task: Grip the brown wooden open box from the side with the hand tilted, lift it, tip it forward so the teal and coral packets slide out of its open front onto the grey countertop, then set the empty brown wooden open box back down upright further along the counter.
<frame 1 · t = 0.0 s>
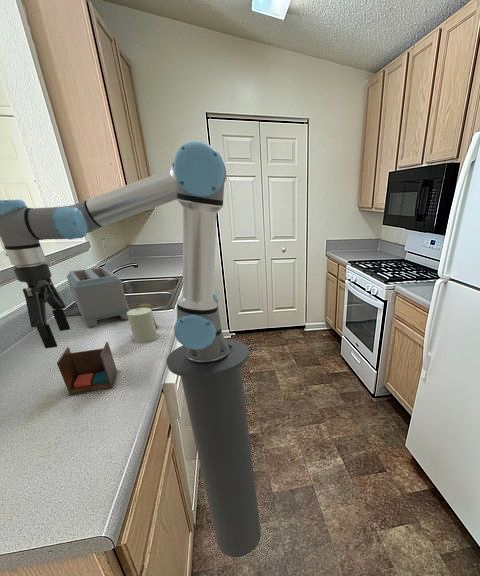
hand: (58, 338, 97), 16 cm above the counter, tool pointing down, fingers open, 13 cm apart
packet coral: (85, 381, 104), point 1 cm above the counter, touching brown wooden open box
can: (146, 338, 136), on the counter
packet teal: (103, 378, 106), point 1 cm above the counter, touching brown wooden open box
brown wooden open box: (94, 383, 105), on the counter, touching packet coral, packet teal
toaster: (104, 314, 164), on the counter
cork: (150, 328, 146), on the counter
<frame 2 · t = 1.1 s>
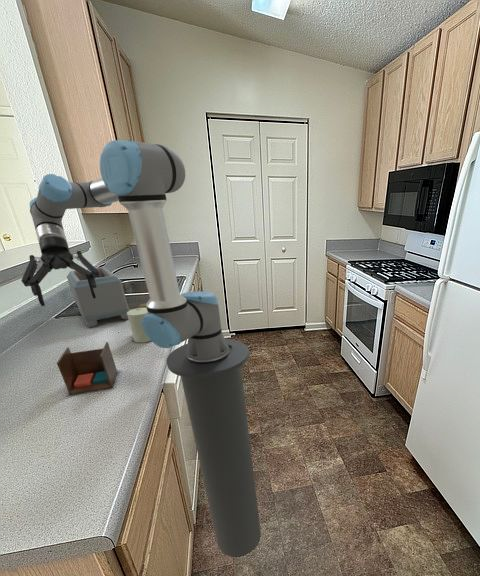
hand: (68, 299, 102), 25 cm above the counter, tool tilted 45°, fingers open, 13 cm apart
nothing on the counter moved.
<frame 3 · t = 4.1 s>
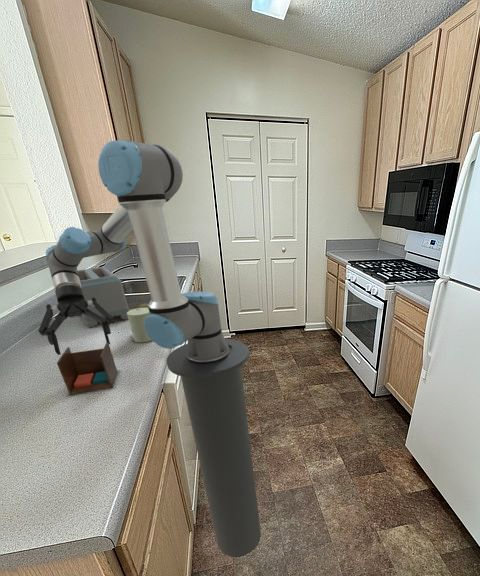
hand: (84, 348, 104), 10 cm above the counter, tool tilted 45°, fingers open, 13 cm apart
brown wooden open box: (94, 383, 105), on the counter, touching gripper, packet coral, packet teal
everything else where it was.
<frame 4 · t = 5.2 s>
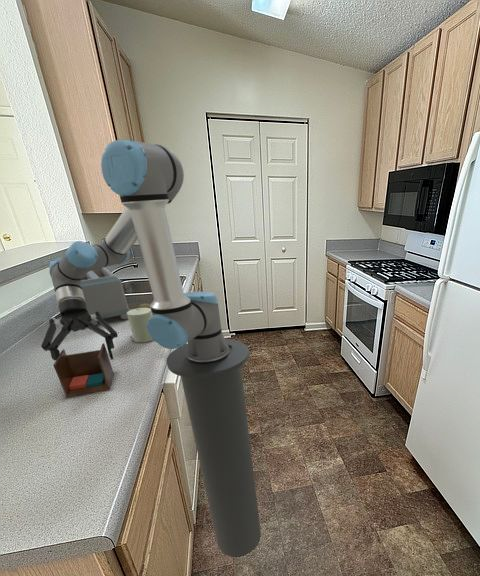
hand: (87, 363, 102), 7 cm above the counter, tool tilted 45°, fingers open, 13 cm apart
packet coral: (80, 383, 103), point 1 cm above the counter, touching brown wooden open box
packet teal: (97, 381, 104), point 1 cm above the counter, touching brown wooden open box
brown wooden open box: (91, 385, 104), on the counter, touching packet coral, packet teal
everything else where it was.
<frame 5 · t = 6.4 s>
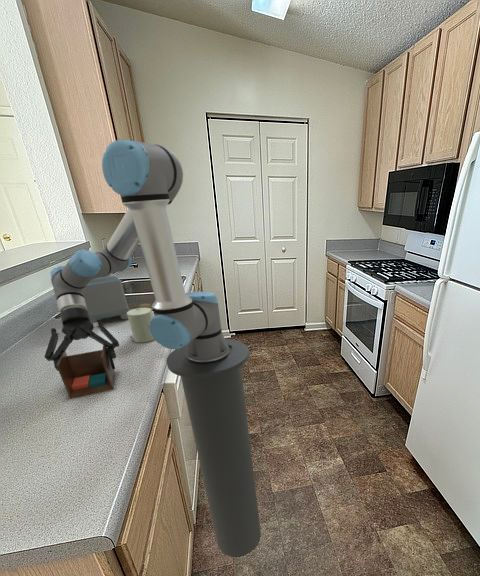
hand: (89, 373, 101), 5 cm above the counter, tool tilted 45°, fingers closed on brown wooden open box, 12 cm apart
brown wooden open box: (93, 385, 104), on the counter, touching gripper, packet coral, packet teal
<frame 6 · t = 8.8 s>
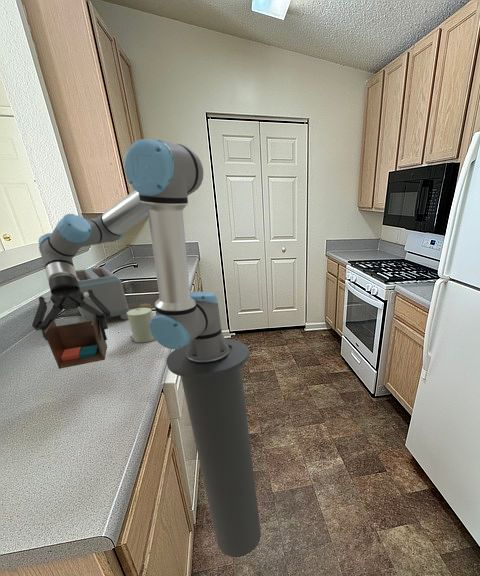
hand: (80, 343, 96), 15 cm above the counter, tool tilted 45°, fingers closed on brown wooden open box, 12 cm apart
packet coral: (72, 355, 98), point 11 cm above the counter, touching brown wooden open box
packet teal: (90, 353, 99), point 11 cm above the counter, touching brown wooden open box
brown wooden open box: (84, 357, 99), point 10 cm above the counter, touching gripper, packet coral, packet teal
everything else where it was.
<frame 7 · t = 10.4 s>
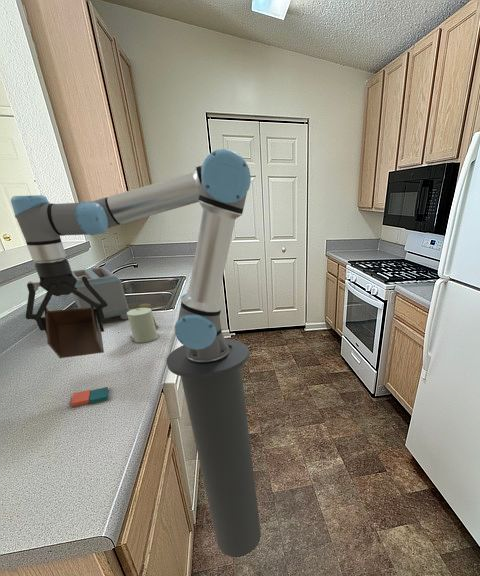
hand: (77, 335, 98), 16 cm above the counter, tool pointing down, fingers closed on brown wooden open box, 12 cm apart
packet coral: (80, 396, 96), point 1 cm above the counter, tilted 180°
packet teal: (98, 393, 97), point 1 cm above the counter, tilted 180°
brown wooden open box: (80, 339, 102), point 14 cm above the counter, tilted 45°, touching gripper
everything else where it was.
when the fingers open (5 cm above the counter, at t = 18.9 s): brown wooden open box stays where it is, on the counter.
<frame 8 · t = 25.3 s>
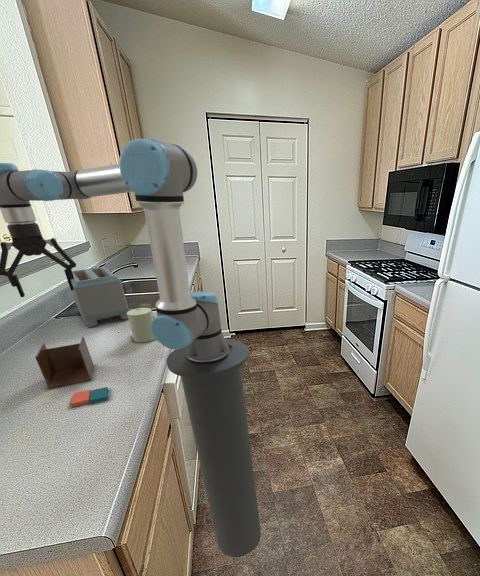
hand: (48, 292, 109), 25 cm above the counter, tool pointing down, fingers open, 13 cm apart
brown wooden open box: (72, 377, 109), on the counter
everything else where it was.
at the end: packet teal touching counter; packet coral touching counter; brown wooden open box tilted 0° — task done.
